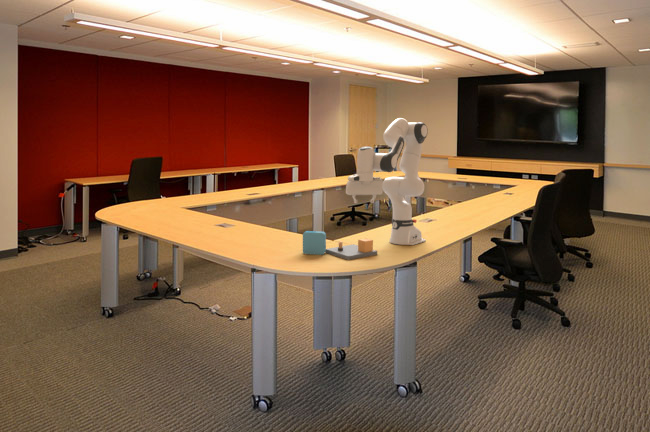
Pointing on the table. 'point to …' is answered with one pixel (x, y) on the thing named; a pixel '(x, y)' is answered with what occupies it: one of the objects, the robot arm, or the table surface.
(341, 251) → the board
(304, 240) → the data package
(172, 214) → the table surface
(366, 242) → the orange cube
